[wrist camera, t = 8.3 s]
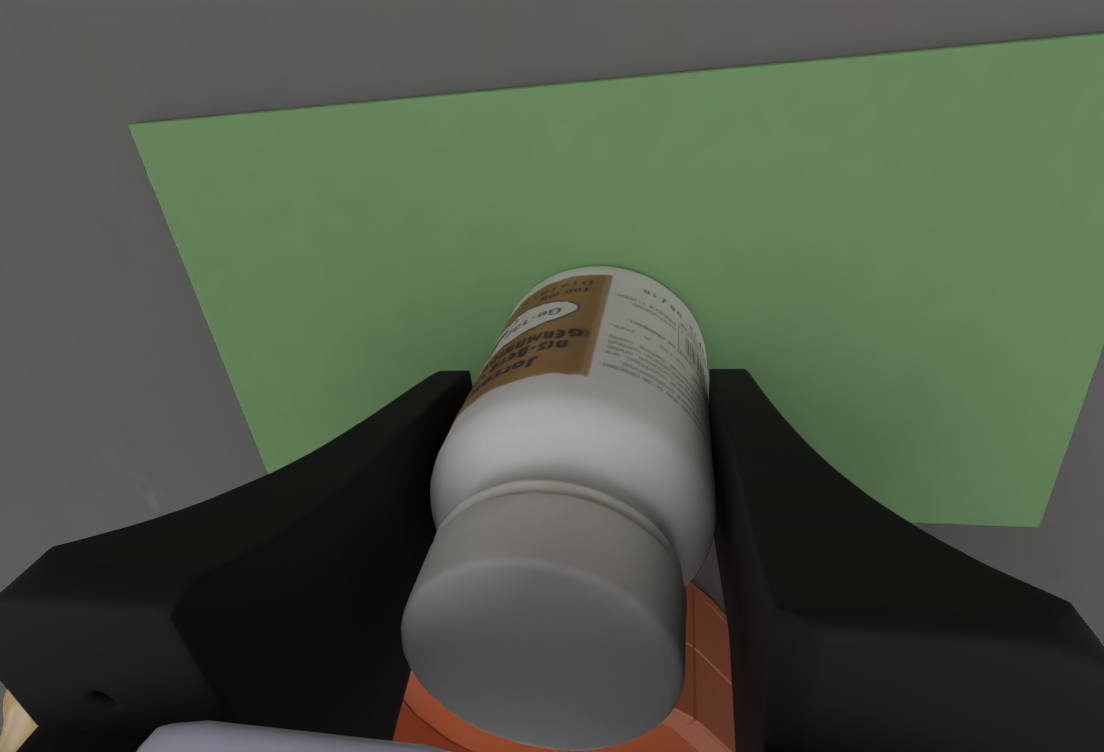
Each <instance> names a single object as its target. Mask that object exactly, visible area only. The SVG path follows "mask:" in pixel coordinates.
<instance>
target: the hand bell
mask: <svg viewBox="0 0 1104 752" xmlns="http://www.w3.org/2000/svg"><path fill="white" fill-rule="evenodd" d="M3 715H4V725H3V729H2V733H1V736H0V752H16V751H17V750H18V749H19V747H20V746H21V745H22V744H23V743H24V742H25V740H26V739H27V738H28V737H29V736H30V735H31V734H32V732H33V731H34V730H35V729H36V728H37V727H38V726H39V725H36V723H35V722H34V721H33V720H32V719H31V717H30V716H29V715H28V714H27V712H26V711H25V710H24V709H23V708H22V706H21V705H20V704H19V703H18V701H17V700H16V699H15V698H14V697H13V695H12V694H11V693H10V692H9V691H8V689H7V691H6V693H5V696H4V701H3Z"/></svg>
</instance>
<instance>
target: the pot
mask: <svg viewBox="0 0 1104 752" xmlns="http://www.w3.org/2000/svg"><path fill="white" fill-rule="evenodd" d="M685 590H686V596H687V617H686V665H685V678H684V686H683V689H682V692H681V695H680V697H679V700H678V703H677V704H676V706H675V707H674V709H673V710H672V712H671V713H670V714H669V716H668V717H667V718H665V719H664V720H663V721H662V722H661V723H660V724H659V725H658V726H657V727H656V728H654V729H652V730H651V731H649V732H647V733H646V734H644V735H642V736H640V737H638V738H635V739H633V740H631V741H629V742H626V743H623V744H619V745H615V746H611V747H606V748H601V749H594V750H583V751H570V750H555V749H546V748H540V747H534V746H530V745H525V744H520V743H517V742H514V741H510V740H507V739H503V738H500V737H497V736H495V735H492V734H490V733H488V732H485V731H483V730H481V729H479V728H477V727H475V726H473V725H471V724H469V723H467V722H465V721H463V720H462V719H460V718H459V717H457V716H456V715H454V714H453V713H451V712H450V711H449V710H447V709H446V708H445V707H444V706H443V705H442V704H441V703H440V702H439V701H438V700H436V699H435V698H434V697H433V696H432V695H431V694H430V693H429V692H428V691H427V690H426V689H425V688H424V687H423V686H422V684H421V683H420V682H419V681H418V679H417V678H416V677H415V675H414V673H413V672H412V670H411V673H410V677H409V680H408V684H407V688H406V691H405V695H404V699H403V702H402V706H401V710H400V713H399V717H398V721H397V725H396V729H395V733H394V737H393V741H397V742H406V743H415V744H424V745H428V746H432V747H436V748H440V749H443V750H447V751H451V752H736V750H735V731H734V713H733V694H732V677H731V660H730V643H729V632H728V624H727V616H726V615H725V614H724V613H723V611H722V610H721V609H720V608H719V607H718V606H717V605H716V604H715V603H714V602H713V600H712V599H711V598H710V597H708V596H707V595H706V594H705V593H704V592H703V591H701V590H700V589H699V588H698V587H697V586H695V585H694V584H693V583H692V582H690V583H689V584H688V585H687V586H686V587H685Z"/></svg>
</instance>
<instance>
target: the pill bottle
mask: <svg viewBox="0 0 1104 752" xmlns="http://www.w3.org/2000/svg"><path fill="white" fill-rule="evenodd" d="M708 383H709V378H708V369H707V357H706V350H705V344H704V341H703V338H702V335H701V332H700V329H699V326H698V324H697V322H696V320H695V318H694V316H693V314H692V313H691V312H690V310H689V309H688V308H687V306H686V305H685V304H684V303H683V302H682V301H681V300H680V299H679V298H678V297H677V296H676V295H674V294H673V293H672V292H671V291H670V290H668V289H667V288H666V287H664V286H663V285H662V284H660V283H658V282H657V281H655V280H653V279H651V278H649V277H647V276H645V275H642V274H640V273H637V272H634V271H631V270H626V269H621V268H616V267H609V266H589V267H580V268H575V269H571V270H567V271H563V272H561V273H558V274H556V275H554V276H552V277H549V278H547V279H546V280H544V281H543V282H541V283H540V284H538V285H537V286H536V287H534V288H533V289H532V290H531V291H530V292H529V293H528V294H527V295H526V296H525V297H524V298H523V299H522V300H521V301H520V303H519V304H518V305H517V306H516V308H515V309H514V311H513V313H512V314H511V316H510V318H509V320H508V322H507V324H506V326H505V328H504V329H503V331H502V332H501V335H500V337H499V339H498V340H497V342H496V344H495V346H494V348H493V350H492V352H491V354H490V355H489V357H488V359H487V362H486V364H485V366H484V367H483V369H482V371H481V373H480V374H479V376H478V378H477V380H476V382H475V384H474V386H473V388H472V390H471V391H470V393H469V395H468V396H467V398H466V400H465V403H464V404H463V406H462V408H461V409H460V411H459V412H458V414H457V416H456V418H455V420H454V422H453V425H452V427H451V429H450V431H449V433H448V435H447V437H446V439H445V441H444V443H443V445H442V447H441V449H440V451H439V453H438V456H437V458H436V461H435V464H434V468H433V472H432V477H431V483H430V504H431V510H432V516H433V520H434V524H435V527H436V529H437V532H436V535H435V538H434V541H433V543H432V545H431V546H430V549H429V551H428V553H427V556H426V558H425V561H424V563H423V565H422V568H421V570H420V573H419V575H418V577H417V580H416V582H415V584H414V587H413V589H412V592H411V594H410V596H409V599H408V602H407V604H406V607H405V609H404V614H403V618H402V623H401V636H402V645H403V652H404V655H405V657H406V659H407V662H408V664H409V666H410V668H411V670H412V672H413V673H414V675H415V677H416V678H417V679H418V681H419V682H420V683H421V684H422V686H423V687H424V688H425V689H426V690H427V691H428V692H429V693H430V694H431V695H432V696H433V697H434V698H435V699H436V700H438V701H439V702H440V703H441V704H442V705H443V706H444V707H445V708H446V709H447V710H449V711H450V712H451V713H453V714H454V715H456V716H457V717H459V718H460V719H462V720H463V721H465V722H467V723H469V724H471V725H473V726H475V727H477V728H479V729H481V730H483V731H485V732H488V733H490V734H492V735H495V736H497V737H500V738H503V739H507V740H510V741H514V742H517V743H520V744H525V745H530V746H534V747H540V748H546V749H555V750H570V751H583V750H594V749H601V748H606V747H611V746H615V745H619V744H623V743H626V742H629V741H631V740H633V739H635V738H638V737H640V736H642V735H644V734H646V733H647V732H649V731H651V730H652V729H654V728H656V727H657V726H658V725H659V724H660V723H661V722H662V721H663V720H664V719H665V718H667V717H668V716H669V714H670V713H671V712H672V710H673V709H674V707H675V706H676V704H677V703H678V700H679V697H680V695H681V692H682V689H683V686H684V678H685V665H686V617H687V596H686V590H685V587H686V586H687V585H688V584H689V583H690V582H691V581H692V579H693V578H694V577H695V576H696V574H697V573H698V571H699V570H700V568H701V567H702V565H703V563H704V561H705V559H706V558H707V555H708V552H709V550H710V547H711V544H712V540H713V536H714V531H715V522H716V493H715V476H714V465H713V453H712V442H711V429H710V413H709V390H708Z"/></svg>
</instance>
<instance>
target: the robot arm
mask: <svg viewBox="0 0 1104 752" xmlns="http://www.w3.org/2000/svg"><path fill="white" fill-rule="evenodd" d="M472 388H473V385H472V380H471V375H470V370H468V371H438V372H436V373H434V374H433V375H431V376H429V377H427V378H426V379H424V380H423V381H421V382H420V383H418V384H417V385H415V386H414V387H412V388H411V389H409V390H408V391H406V392H405V393H403V394H402V395H400V396H399V397H398V398H396V399H395V400H393V401H392V402H390V403H389V404H387V405H386V406H384V407H383V408H381V409H380V410H378V411H377V412H375V413H374V414H372V415H371V416H370V417H368V418H367V419H365V420H363V421H362V422H360V423H359V424H357V425H355V426H354V427H352V428H351V429H349V430H347V431H346V432H344V433H343V434H341V435H339V436H338V437H336V438H334V439H333V440H331V441H330V442H328V443H326V444H325V445H323V446H321V447H320V448H318V449H316V450H314V451H313V452H311V453H309V454H307V455H305V456H303V457H302V458H300V459H298V460H296V461H294V462H292V463H290V464H288V465H286V466H284V467H282V468H280V469H278V470H276V471H274V472H272V473H270V474H268V475H266V476H264V477H261V478H259V479H257V480H254V481H252V482H249V483H247V484H245V485H242V486H240V487H238V488H235V489H233V490H231V491H228V492H226V493H224V494H221V495H219V496H217V497H214V498H212V499H209V500H206V501H204V502H201V503H198V504H196V505H193V506H190V507H187V508H184V509H182V510H179V511H176V512H173V513H170V514H167V515H164V516H161V517H158V518H155V519H152V520H149V521H146V522H142V523H139V524H136V525H132V526H129V527H125V528H122V529H118V530H114V531H111V532H107V533H103V534H100V535H96V536H92V537H89V538H85V539H81V540H78V541H74V542H70V543H66V544H62V545H58V546H54V547H52V548H51V549H49V550H48V551H47V552H46V553H45V554H43V555H42V556H41V557H40V558H39V559H38V560H37V561H36V562H34V563H33V564H32V565H31V566H30V567H29V568H28V569H27V570H25V571H24V572H23V573H22V574H21V575H20V576H19V577H18V578H16V579H15V580H14V581H13V582H12V583H11V584H10V585H9V586H7V587H6V588H5V589H4V590H3V591H2V592H1V593H0V681H1V682H2V683H3V684H4V686H5V687H6V688H7V689H8V691H9V692H10V693H11V694H12V695H13V697H14V698H15V699H16V700H17V701H18V703H19V704H20V705H21V706H22V708H23V709H24V710H25V711H26V712H27V714H28V715H29V716H30V717H31V719H32V720H33V721H34V722H35V723H36V725H39V726H38V727H37V728H36V729H35V730H34V731H33V732H32V734H31V735H30V736H29V737H28V738H27V739H26V740H25V742H24V743H23V744H22V745H21V746H20V747H19V749H18V750H17V751H16V752H451V751H447V750H443V749H440V748H436V747H432V746H428V745H424V744H415V743H406V742H397V741H393V737H394V733H395V729H396V725H397V721H398V717H399V713H400V710H401V706H402V702H403V699H404V695H405V691H406V688H407V684H408V680H409V677H410V673H411V668H410V666H409V664H408V662H407V659H406V657H405V655H404V652H403V645H402V636H401V623H402V618H403V614H404V609H405V607H406V604H407V602H408V599H409V596H410V594H411V592H412V589H413V587H414V584H415V582H416V580H417V577H418V575H419V573H420V570H421V568H422V565H423V563H424V561H425V558H426V556H427V553H428V551H429V549H430V546H431V545H432V543H433V541H434V538H435V535H436V532H437V529H436V527H435V524H434V520H433V516H432V510H431V504H430V483H431V477H432V472H433V468H434V464H435V461H436V458H437V456H438V453H439V451H440V449H441V447H442V445H443V443H444V441H445V439H446V437H447V435H448V433H449V431H450V429H451V427H452V425H453V422H454V420H455V418H456V416H457V414H458V412H459V411H460V409H461V408H462V406H463V404H464V403H465V400H466V398H467V396H468V395H469V393H470V391H471V390H472ZM709 413H710V429H711V442H712V453H713V465H714V476H715V493H716V522H715V531H714V541H715V547H716V553H717V559H718V565H719V572H720V578H721V584H722V590H723V596H724V602H725V609H726V615H727V624H728V632H729V643H730V660H731V677H732V694H733V713H734V731H735V750H736V752H1104V647H1103V645H1102V644H1101V642H1100V641H1099V639H1098V638H1097V637H1096V635H1095V634H1094V633H1093V632H1092V630H1091V629H1090V628H1089V626H1088V625H1087V624H1086V623H1085V621H1084V620H1083V619H1082V617H1081V616H1080V615H1079V614H1078V612H1077V611H1076V609H1075V608H1074V607H1073V605H1072V604H1071V603H1070V602H1068V601H1065V600H1063V599H1061V598H1059V597H1056V596H1054V595H1052V594H1050V593H1047V592H1045V591H1043V590H1041V589H1038V588H1036V587H1034V586H1032V585H1030V584H1027V583H1025V582H1023V581H1021V580H1018V579H1016V578H1014V577H1012V576H1009V575H1007V574H1005V573H1003V572H1001V571H998V570H996V569H994V568H992V567H990V566H988V565H986V564H984V563H982V562H980V561H978V560H976V559H974V558H972V557H970V556H968V555H966V554H964V553H963V552H961V551H959V550H957V549H955V548H953V547H951V546H949V545H947V544H946V543H944V542H942V541H940V540H938V539H937V538H935V537H933V536H932V535H930V534H928V533H926V532H925V531H923V530H921V529H919V528H918V527H916V526H914V525H913V524H911V523H910V522H908V521H907V520H905V519H904V518H902V517H900V516H899V515H897V514H896V513H894V512H893V511H891V510H890V509H888V508H887V507H885V506H883V505H882V504H881V503H879V502H878V501H876V500H875V499H873V498H872V497H871V496H869V495H868V494H866V493H865V492H864V491H862V490H861V489H860V488H859V487H857V486H856V485H855V484H853V483H852V482H851V481H850V480H848V479H847V478H846V477H845V476H843V475H842V474H841V473H839V472H838V471H837V470H836V469H835V468H833V467H832V466H831V465H830V464H829V463H828V462H827V461H826V460H825V459H824V458H822V457H821V456H820V455H819V454H818V453H817V452H816V451H815V450H814V449H813V448H812V447H811V446H810V445H809V444H808V443H807V442H806V441H805V440H804V439H803V438H802V437H801V436H800V435H799V434H798V432H797V431H796V430H795V429H794V428H793V427H792V426H791V425H790V423H789V422H788V421H787V420H786V419H785V418H784V417H783V416H782V415H781V413H780V412H779V411H778V410H777V409H776V407H775V406H774V405H773V404H772V402H771V401H770V400H769V399H768V397H767V396H766V395H765V393H764V392H763V391H762V389H761V388H760V387H759V385H758V384H757V382H756V381H755V380H754V378H753V377H752V375H751V374H750V373H749V372H748V371H747V370H746V369H709Z"/></svg>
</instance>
